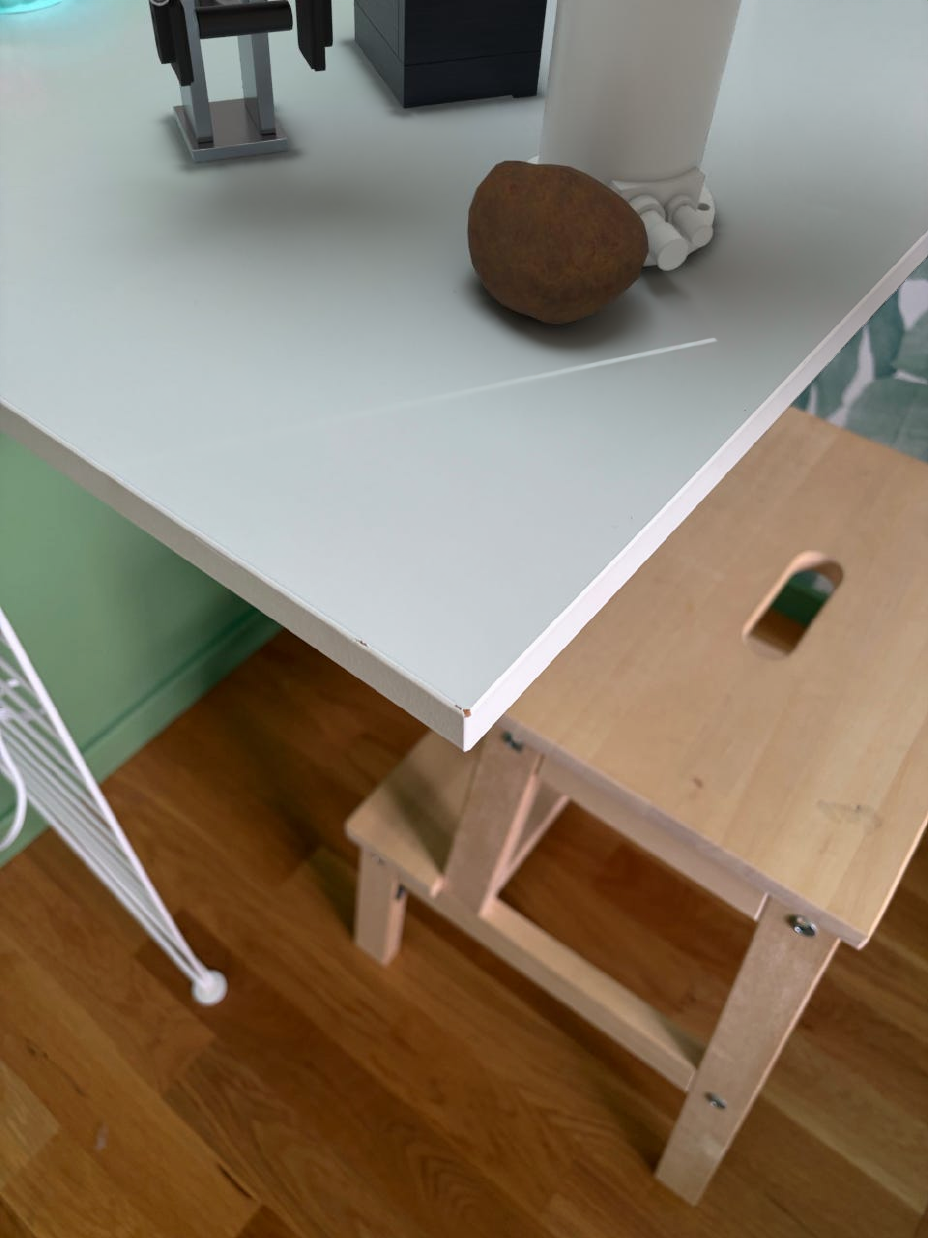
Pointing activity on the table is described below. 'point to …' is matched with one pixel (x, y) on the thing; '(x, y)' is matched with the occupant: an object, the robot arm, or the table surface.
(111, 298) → the table surface
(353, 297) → the table surface
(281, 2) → the lever
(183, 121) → the lever bracket
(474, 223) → the potato
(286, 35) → the table surface
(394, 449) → the table surface
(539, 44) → the toaster
